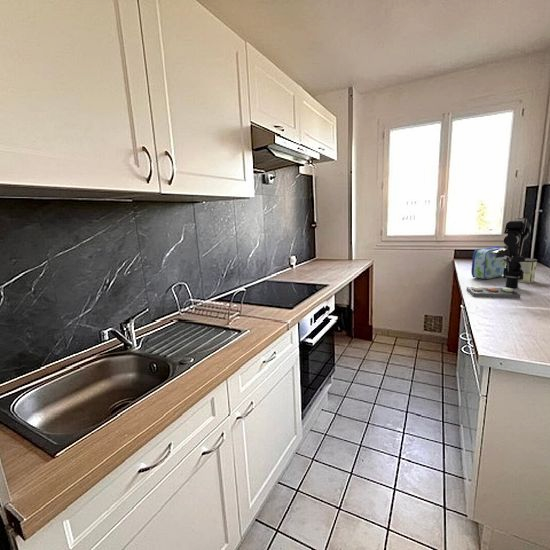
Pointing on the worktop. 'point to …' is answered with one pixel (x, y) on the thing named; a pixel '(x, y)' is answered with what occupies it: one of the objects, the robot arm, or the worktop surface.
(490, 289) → the button terracotta
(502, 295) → the console
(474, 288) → the button ivory
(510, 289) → the button sage
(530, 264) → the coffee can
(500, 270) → the lunch box
